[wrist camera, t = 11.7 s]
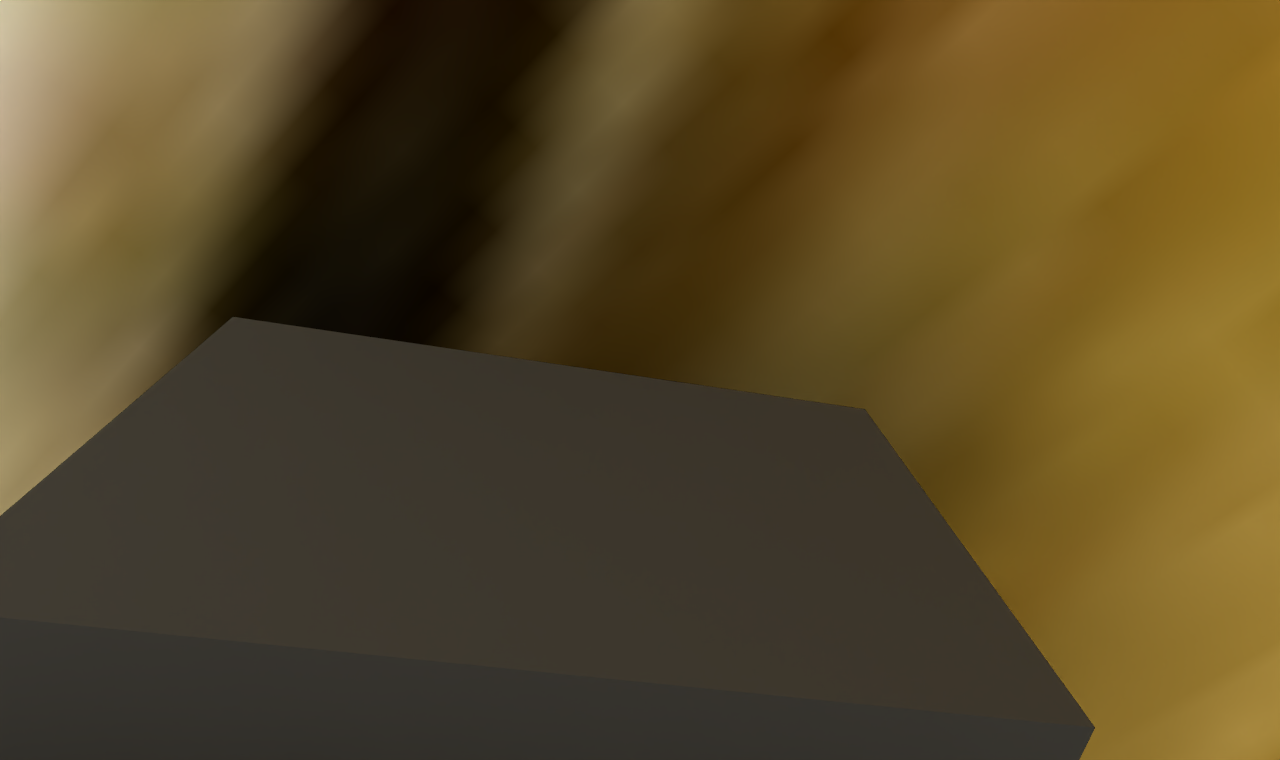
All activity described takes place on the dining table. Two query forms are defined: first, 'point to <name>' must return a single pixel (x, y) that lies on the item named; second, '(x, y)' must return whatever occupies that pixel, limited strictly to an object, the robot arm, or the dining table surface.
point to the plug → (497, 574)
